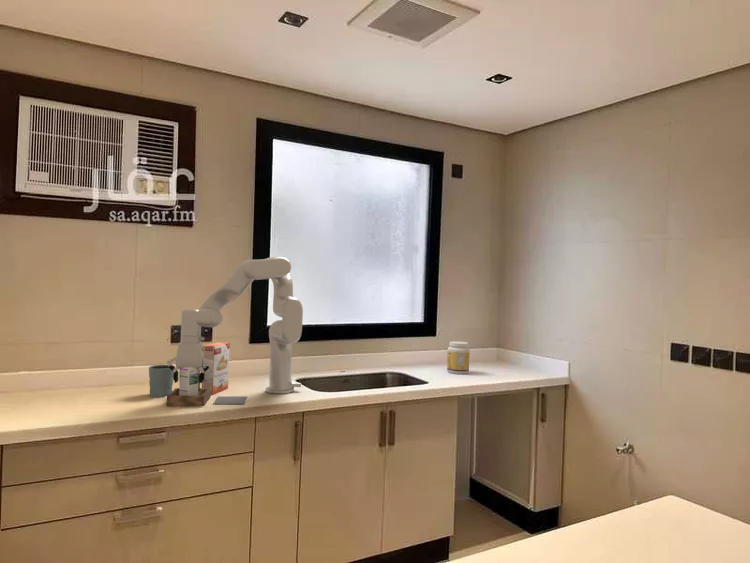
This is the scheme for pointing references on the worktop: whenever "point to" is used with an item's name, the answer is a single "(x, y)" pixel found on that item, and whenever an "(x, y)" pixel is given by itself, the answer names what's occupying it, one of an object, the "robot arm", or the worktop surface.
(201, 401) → the walnut box
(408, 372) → the worktop surface
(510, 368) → the worktop surface
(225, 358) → the cracker box
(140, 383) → the worktop surface
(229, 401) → the grey mat
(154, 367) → the teal cup
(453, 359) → the supplement tub
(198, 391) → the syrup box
